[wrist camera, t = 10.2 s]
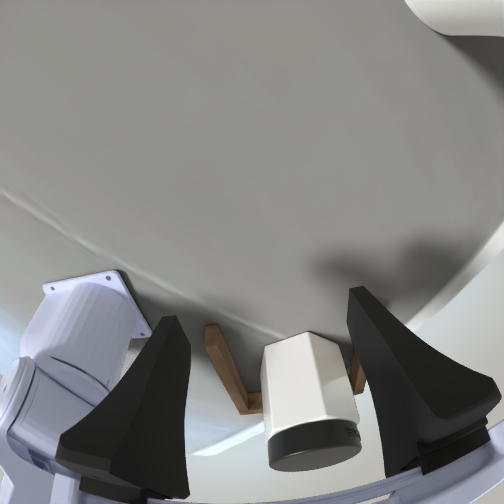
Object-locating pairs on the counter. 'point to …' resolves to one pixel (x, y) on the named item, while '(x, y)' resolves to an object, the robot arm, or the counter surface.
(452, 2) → the cylindrical container
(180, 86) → the counter surface
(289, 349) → the jar
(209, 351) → the bay
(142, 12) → the counter surface
